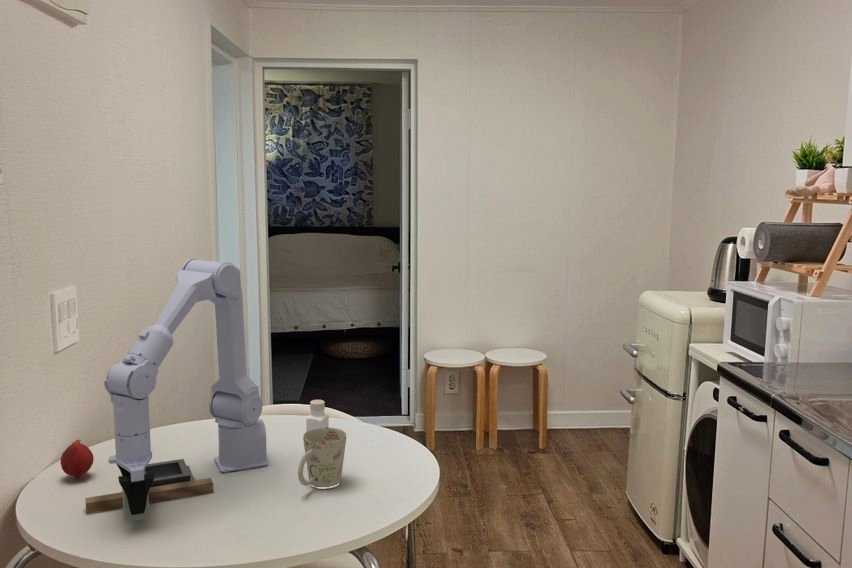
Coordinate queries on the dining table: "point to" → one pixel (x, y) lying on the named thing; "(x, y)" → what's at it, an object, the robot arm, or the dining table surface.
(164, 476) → the keeper
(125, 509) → the stop block
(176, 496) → the door edge rail
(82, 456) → the onion
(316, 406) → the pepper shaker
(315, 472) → the mug
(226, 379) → the robot arm
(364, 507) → the dining table surface
